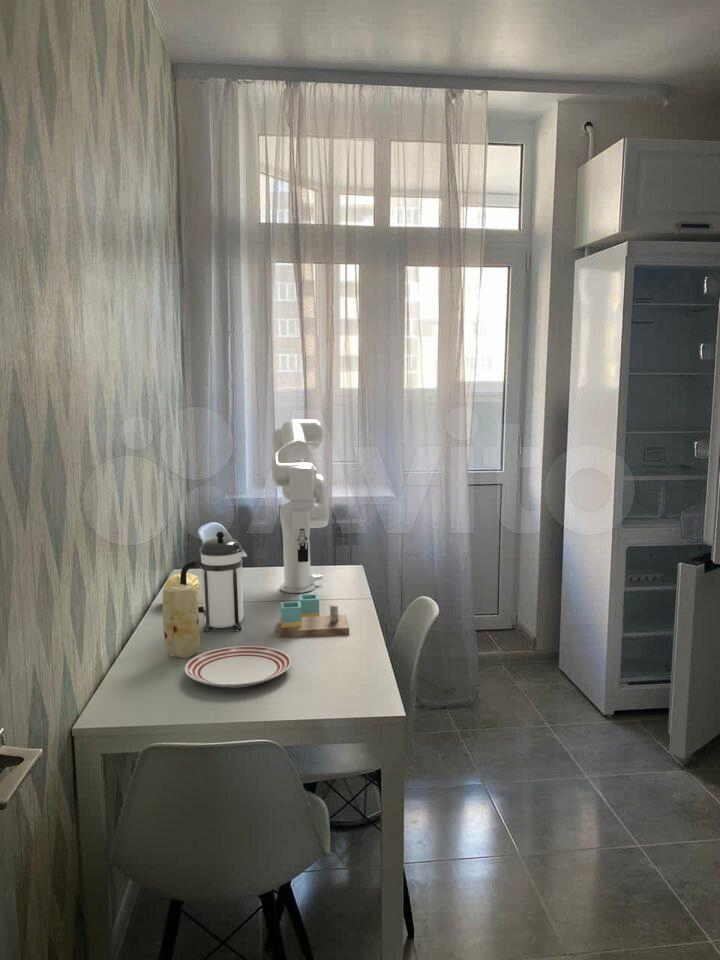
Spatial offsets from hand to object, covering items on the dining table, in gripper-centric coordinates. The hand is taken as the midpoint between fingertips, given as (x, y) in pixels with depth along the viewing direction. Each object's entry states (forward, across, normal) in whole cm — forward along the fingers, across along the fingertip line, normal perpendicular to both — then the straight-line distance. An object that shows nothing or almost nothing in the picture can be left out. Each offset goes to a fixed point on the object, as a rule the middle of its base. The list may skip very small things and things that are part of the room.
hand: (303, 558), depth 237 cm
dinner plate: (+20, +45, -17) cm, 52 cm away
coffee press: (+19, +8, -26) cm, 33 cm away
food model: (+19, +30, -34) cm, 49 cm away
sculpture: (+19, -18, -42) cm, 49 cm away
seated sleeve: (+17, +13, -4) cm, 22 cm away
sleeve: (+19, 0, +2) cm, 19 cm away
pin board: (+19, +13, +3) cm, 23 cm away
